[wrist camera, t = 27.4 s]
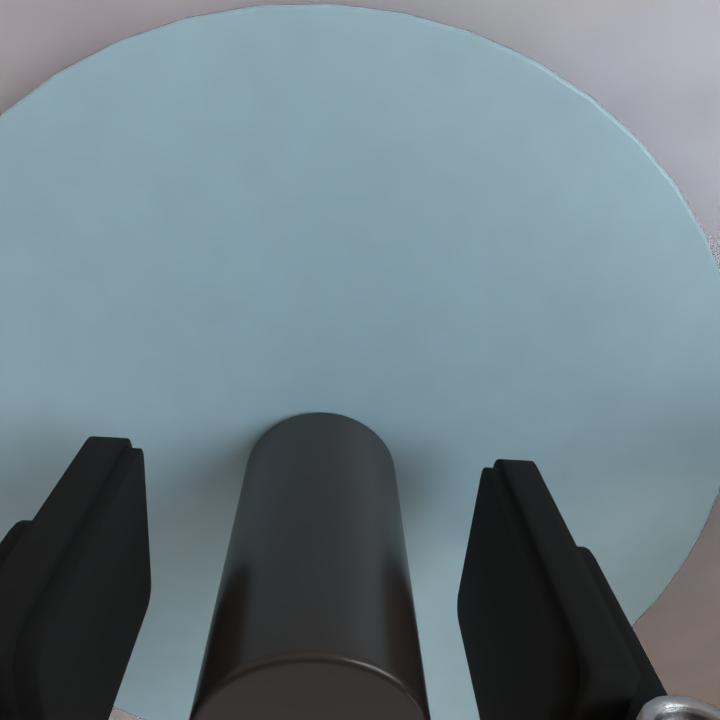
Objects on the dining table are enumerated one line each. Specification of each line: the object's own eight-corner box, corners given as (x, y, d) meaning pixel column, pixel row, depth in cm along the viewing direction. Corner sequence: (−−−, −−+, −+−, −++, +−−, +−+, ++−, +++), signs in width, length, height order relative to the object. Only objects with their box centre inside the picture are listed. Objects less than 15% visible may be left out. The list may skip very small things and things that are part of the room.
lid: (-209, 489, 13) (-653, 833, 7) (231, -257, 8) (1, -958, 3) (367, 782, 17) (382, 1146, 11) (859, 389, 12) (1293, 656, 7)
